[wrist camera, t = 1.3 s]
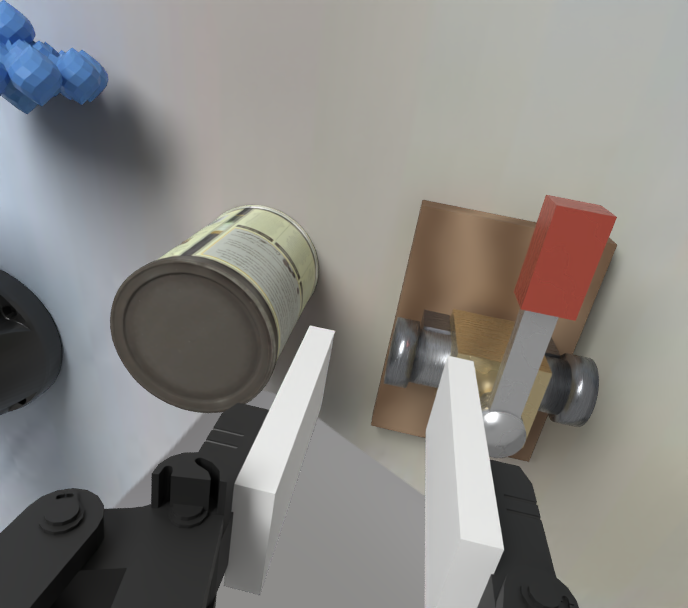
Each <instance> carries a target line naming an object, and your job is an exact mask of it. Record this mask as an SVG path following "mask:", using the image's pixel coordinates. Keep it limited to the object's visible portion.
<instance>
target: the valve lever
mask: <svg viewBox="0 0 688 608" xmlns="http://www.w3.org/2000/svg"><path fill="white" fill-rule="evenodd" d="M616 218H617V217H616V216H615V215H613V214H612V213H611V212H609V211H608V210H607V209H605V208H604V207H602V206H601V205H596V204H591V203H585V202H580V201H575V200H570V199H565V198H560V197H555V196H550V195H546V197H545V200H544V203H543V206H542V209H541V212H540V215H539V218H538V221H537V224H536V227H535V230H534V233H533V236H532V239H531V242H530V245H529V248H528V251H527V254H526V257H525V260H524V263H523V266H522V269H521V272H520V275H519V278H518V281H517V284H516V287H515V290H514V294H515V296H516V299H517V301H518V304H519V306H520V310H519V313H518V315H517V318H516V321H515V324H514V327H513V330H512V333H511V336H510V339H509V342H508V345H507V347H506V350H505V353H504V356H503V359H502V362H501V365H500V368H499V371H498V374H497V377H496V380H495V382H494V385H493V388H492V391H491V394H490V397H489V400H488V401H487V402H484V403H482V404H481V410H482V416H483V422H484V429H485V435H486V441H487V447H488V453H489V457H494V458H503V457H508V456H511V455H513V454H515V453H517V452H518V451H519V450H520V449H521V448H522V447H523V446H524V444H525V441H526V430H525V426H524V423H523V419H522V416H521V415H522V412H523V410H524V407H525V404H526V402H527V399H528V397H529V394H530V391H531V389H532V386H533V383H534V381H535V378H536V376H537V373H538V370H539V368H540V365H541V362H542V360H543V357H544V355H545V352H546V349H547V347H548V344H549V341H550V339H551V336H552V334H553V331H554V328H555V326H556V323H557V320H558V318H564V319H569V320H573V321H576V319H577V316H578V314H579V311H580V308H581V306H582V303H583V301H584V298H585V296H586V293H587V291H588V288H589V286H590V283H591V281H592V278H593V276H594V273H595V271H596V268H597V266H598V263H599V261H600V258H601V256H602V253H603V251H604V248H605V246H606V243H607V241H608V238H609V236H610V233H611V231H612V228H613V226H614V223H615V220H616Z"/></svg>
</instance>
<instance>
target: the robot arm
mask: <svg viewBox="0 0 688 608" xmlns="http://www.w3.org/2000/svg"><path fill="white" fill-rule="evenodd" d="M334 334H335V331H333V330H329V329H324V328H319V327H315V326H309V328H308V330H307V332H306V335H305V337H304V339H303V341H302V343H301V345H300V347H299V349H298V351H297V353H296V356H295V358H294V360H293V362H292V364H291V366H290V368H289V370H288V372H287V374H286V376H285V379H284V381H283V383H282V385H281V387H280V389H279V391H278V393H277V395H276V397H275V400H274V402H273V404H272V406H271V408H270V410H267V409H263V408H259V407H254V406H250V405H246V404H241V403H237V404H235V405H234V406H232V407H231V408H229V409H228V410H226V411H225V412H223V413H222V414H221V416H220V418H219V419H218V421H217V423H216V424H215V426H214V428H213V430H212V431H211V432H210V434H209V436H208V437H207V439H206V442H204V444H203V445H202V447H201V449H200V450H199V452H196V453H181V454H178V455H175V456H171V457H169V458H168V459H166V460H164V461H163V462H161V463H160V464H159V465H158V466H157V467H156V469H155V470H154V471H153V473H152V494H151V496H152V497H151V504H150V505H147V506H144V507H136V508H120V509H119V508H118V509H104V505H103V503H102V502H101V500H100V498H99V497H98V496H97V495H95V494H93V493H92V492H90V491H88V490H82V489H75V488H72V489H64V490H57V491H55V492H52V493H50V494H47V495H45V496H42V497H41V498H39V499H38V500H36V501H35V502H34V503H32V504H31V505H30V506H28V507H27V508H26V509H25V510H24V511H23V512H22V513H21V514H20V515H19V516H18V517H17V518H16V519H15V520H14V521H13V522H12V523H11V524H10V525H8V526H7V527H6V528H5V529H4V530H3V531H2V532H1V533H0V608H215V604H216V594H217V591H218V588H219V586H220V583H221V581H222V578H223V576H224V574H225V580H224V586H226V587H230V588H234V589H238V590H242V591H245V592H249V593H253V594H258V595H260V594H261V591H262V588H263V585H264V582H265V579H266V576H267V572H268V570H269V566H270V563H271V560H272V557H273V554H274V551H275V548H276V545H277V542H278V539H279V536H280V532H281V529H282V526H283V523H284V520H285V517H286V514H287V511H288V508H289V505H290V502H291V498H292V496H293V492H294V489H295V486H296V483H297V480H298V477H299V474H300V471H301V467H302V465H303V462H304V458H305V455H306V452H307V449H308V446H309V443H310V440H311V437H312V434H313V431H314V428H315V425H316V421H317V418H318V415H319V412H320V409H321V406H322V400H323V395H324V389H325V383H326V378H327V372H328V367H329V361H330V356H331V350H332V345H333V339H334ZM61 362H62V348H61V342H60V338H59V334H58V331H57V329H56V326H55V324H54V322H53V320H52V318H51V316H50V315H49V313H48V311H47V310H46V308H45V307H44V306H43V304H42V303H41V302H40V301H39V299H38V298H37V297H36V296H35V295H34V294H33V293H32V292H31V291H30V290H29V289H28V288H27V287H26V286H24V285H23V284H22V283H21V282H19V281H18V280H17V279H15V278H14V277H12V276H11V275H9V274H7V273H6V272H4V271H2V270H0V415H2V414H4V413H7V412H9V411H13V410H16V409H19V408H21V407H23V406H25V405H27V404H29V403H31V402H32V401H33V400H35V399H36V398H37V397H38V396H40V395H41V394H42V393H43V392H45V391H46V390H47V389H48V388H49V387H50V386H51V385H52V384H53V383H54V381H55V380H56V378H57V376H58V374H59V371H60V367H61ZM536 502H537V501H536V497H535V493H534V490H533V486H532V483H531V482H530V480H529V479H528V478H527V476H526V475H525V474H524V472H523V471H522V469H521V468H520V467H519V466H515V465H511V464H507V463H502V462H498V461H494V460H490V459H489V453H488V447H487V441H486V435H485V429H484V422H483V416H482V410H481V404H480V398H479V392H478V385H477V379H476V373H475V367H474V361H470V360H465V359H461V358H456V357H452V356H447V359H446V363H445V366H444V370H443V373H442V376H441V380H440V383H439V387H438V390H437V394H436V397H435V401H434V404H433V407H432V411H431V414H430V418H429V421H428V425H427V428H426V479H425V608H579V607H578V604H577V601H576V599H575V598H574V596H573V595H572V593H571V592H570V590H569V589H568V588H567V587H566V586H565V585H564V584H563V583H562V582H561V581H560V580H559V579H557V578H556V575H555V571H554V567H553V563H552V559H551V556H550V552H549V548H548V544H547V540H546V536H545V532H544V528H543V524H542V521H541V520H540V513H539V509H538V505H536Z"/></svg>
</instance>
